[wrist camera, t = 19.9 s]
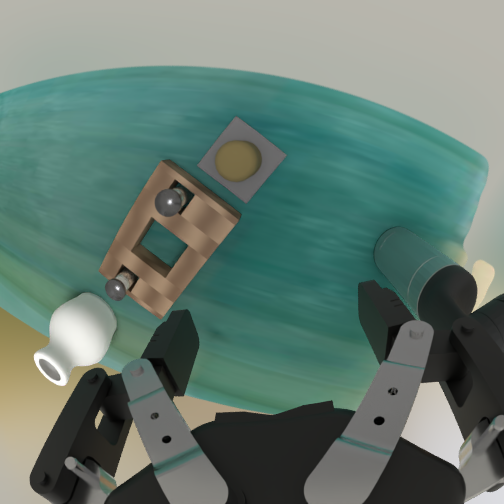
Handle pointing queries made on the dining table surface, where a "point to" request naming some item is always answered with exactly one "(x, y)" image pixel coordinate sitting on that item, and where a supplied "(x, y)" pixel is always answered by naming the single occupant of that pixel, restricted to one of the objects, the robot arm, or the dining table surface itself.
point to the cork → (238, 160)
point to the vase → (76, 337)
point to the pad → (268, 150)
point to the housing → (181, 224)
